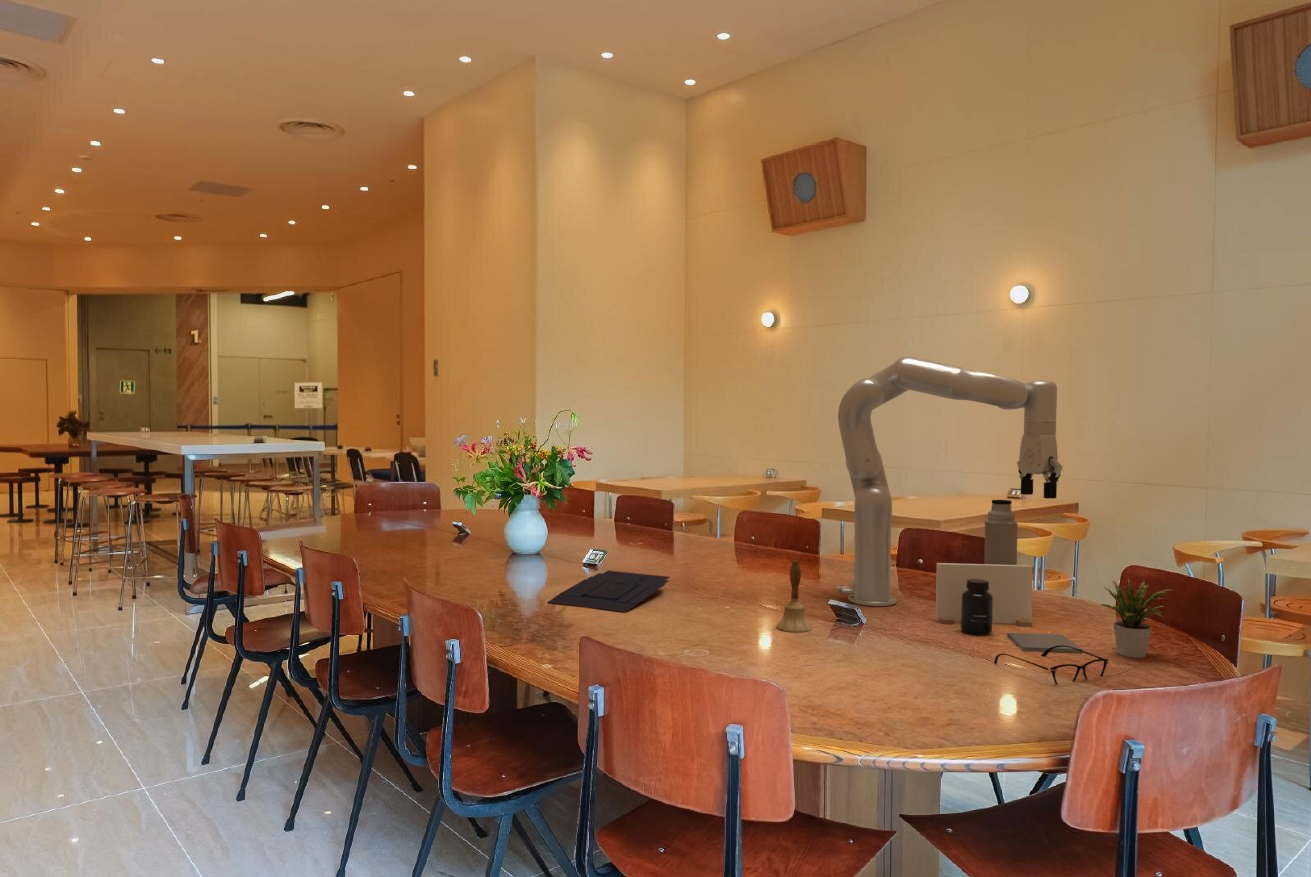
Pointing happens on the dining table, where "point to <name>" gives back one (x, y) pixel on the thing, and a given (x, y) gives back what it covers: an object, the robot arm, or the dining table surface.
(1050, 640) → the pad
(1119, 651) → the house plant
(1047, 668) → the eyeglasses
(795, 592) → the hand bell
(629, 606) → the black flat stepped slab
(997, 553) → the thermos bottle
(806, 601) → the dining table surface
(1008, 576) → the screen
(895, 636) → the dining table surface
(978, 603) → the supplement bottle
